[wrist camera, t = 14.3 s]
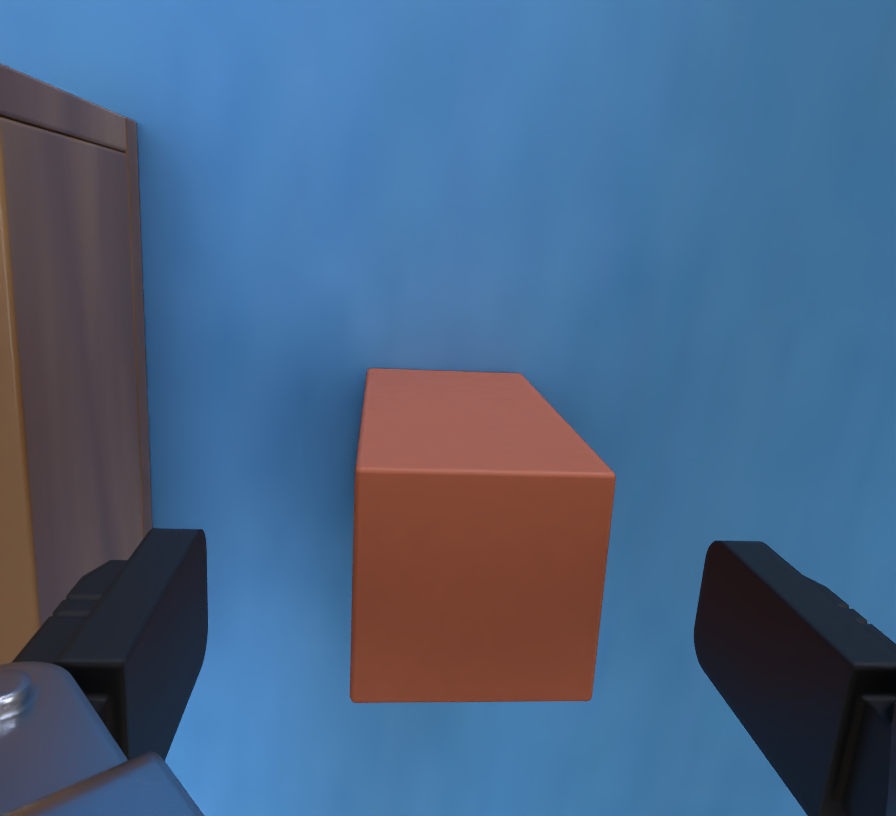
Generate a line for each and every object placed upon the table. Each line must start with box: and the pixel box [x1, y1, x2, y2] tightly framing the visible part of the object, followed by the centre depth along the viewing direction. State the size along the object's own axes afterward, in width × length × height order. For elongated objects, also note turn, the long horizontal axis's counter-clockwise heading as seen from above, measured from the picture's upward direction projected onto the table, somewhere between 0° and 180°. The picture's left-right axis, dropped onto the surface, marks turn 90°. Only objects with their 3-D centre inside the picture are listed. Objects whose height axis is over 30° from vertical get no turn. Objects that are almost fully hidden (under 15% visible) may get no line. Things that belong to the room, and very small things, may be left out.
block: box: [350, 368, 616, 703], centre depth 16 cm, size 4×4×8 cm
